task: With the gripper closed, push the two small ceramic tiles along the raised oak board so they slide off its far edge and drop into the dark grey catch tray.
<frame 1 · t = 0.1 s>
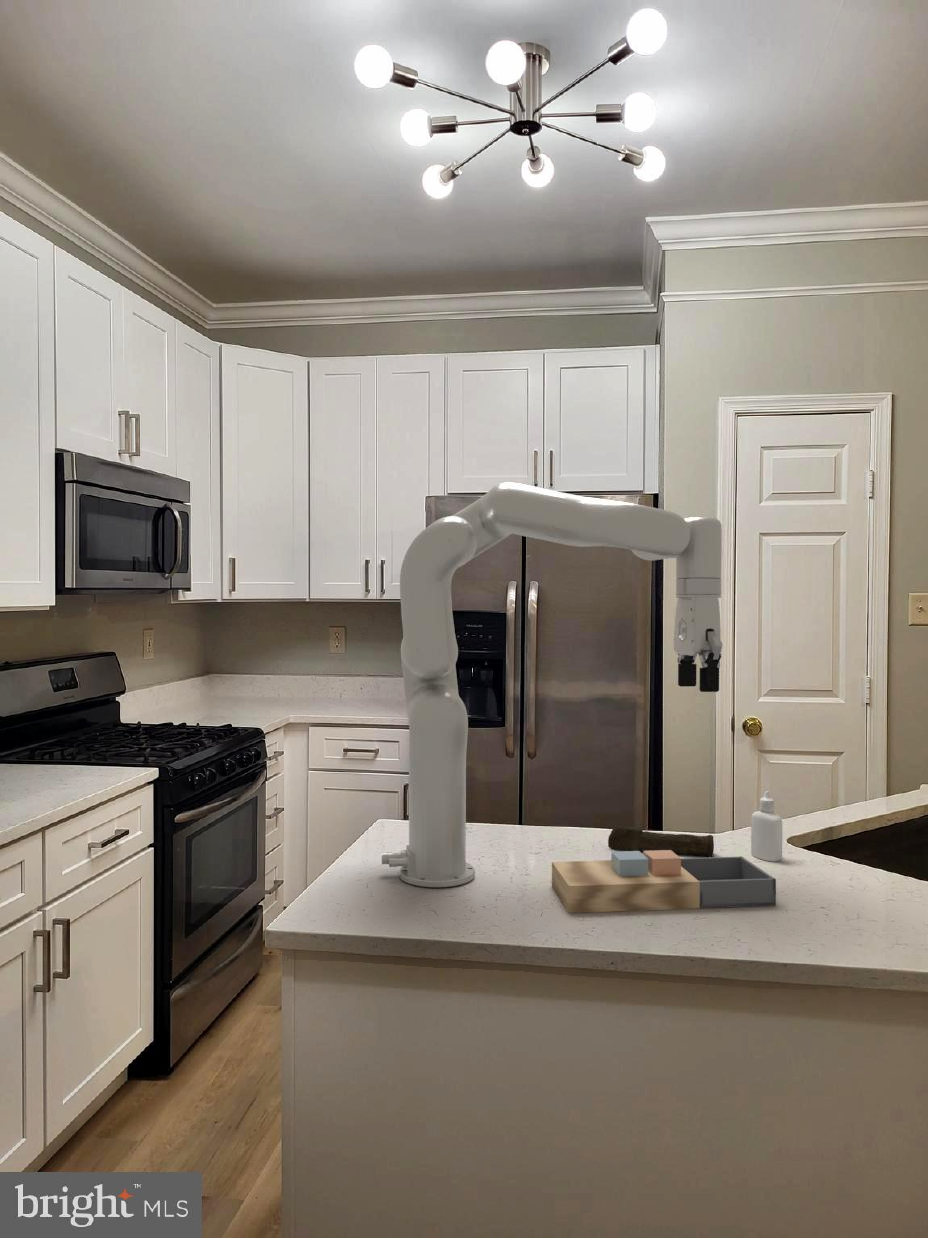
hand: (697, 688, 149), 31 cm above the countertop, tool pointing down, fingers open, 9 cm apart
terracotta tile: (661, 870, 135), point 4 cm above the countertop, touching oak board
catch tray: (721, 893, 136), on the countertop
slate tile: (629, 871, 135), point 4 cm above the countertop, touching oak board
eye dropper bottle: (766, 859, 156), on the countertop
hand tool: (660, 855, 159), on the countertop
oak board: (623, 897, 135), on the countertop
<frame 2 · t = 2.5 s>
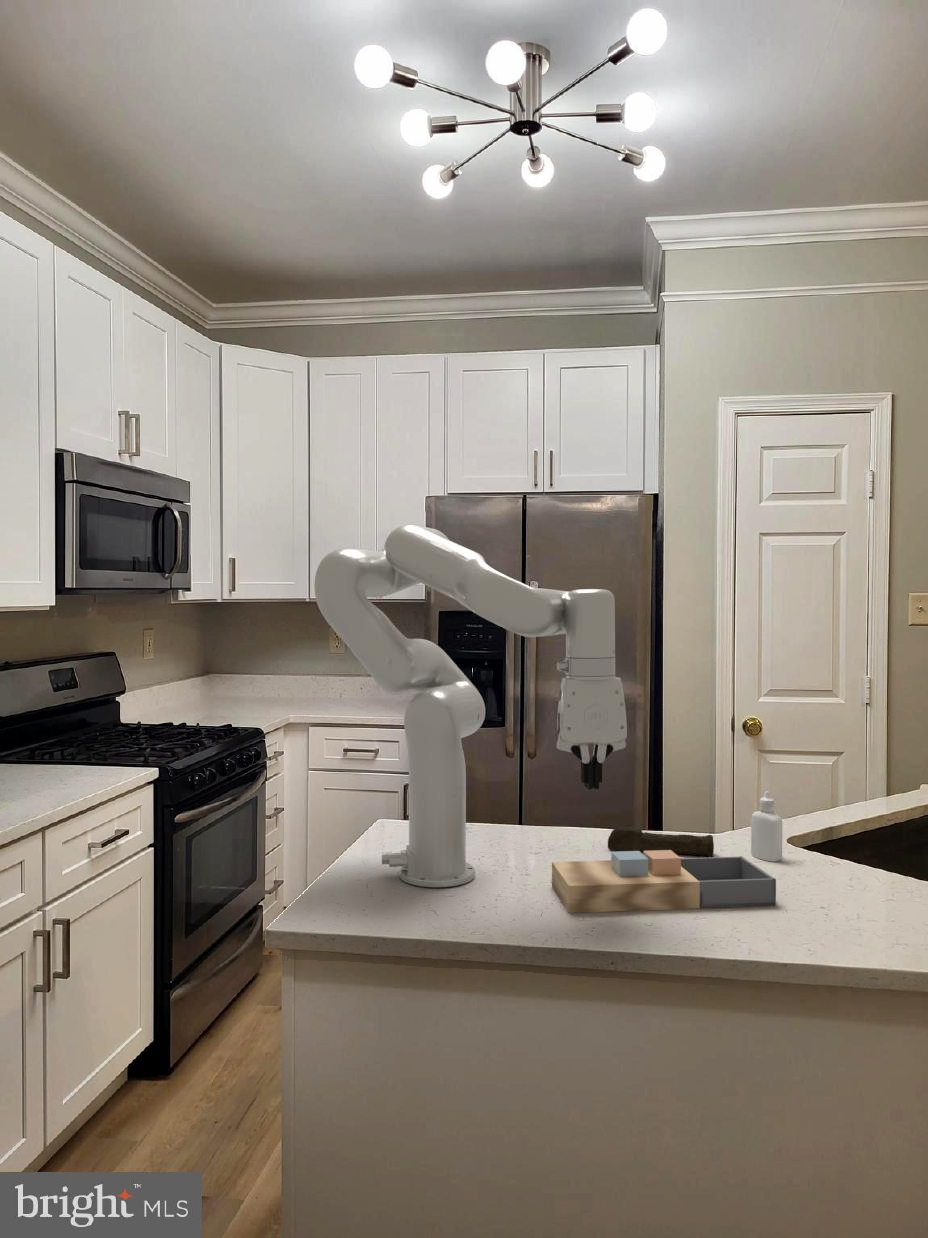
hand: (591, 787, 134), 17 cm above the countertop, tool pointing down, fingers closed
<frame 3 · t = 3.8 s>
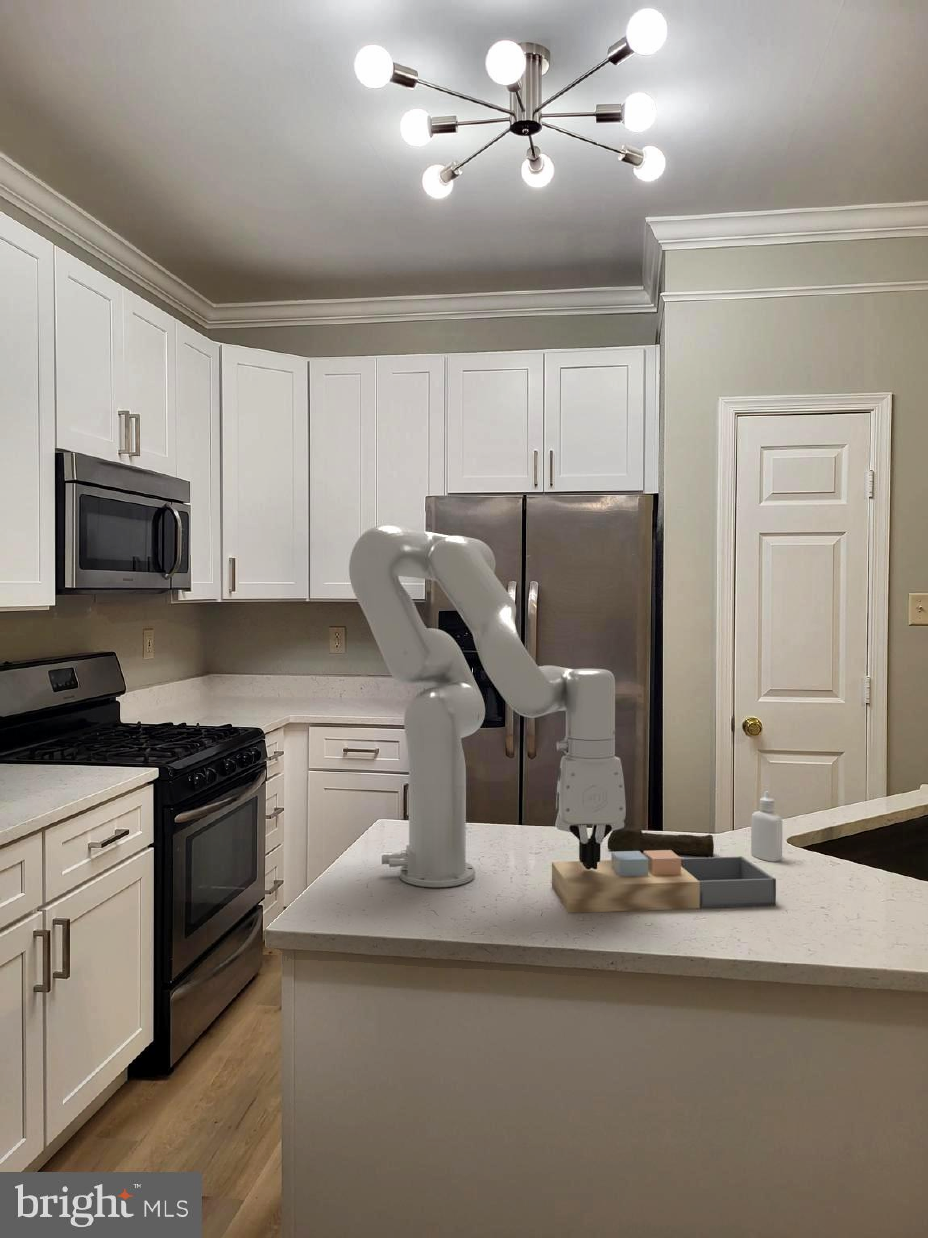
hand: (589, 866, 134), 5 cm above the countertop, tool pointing down, fingers closed
nothing on the countertop moved.
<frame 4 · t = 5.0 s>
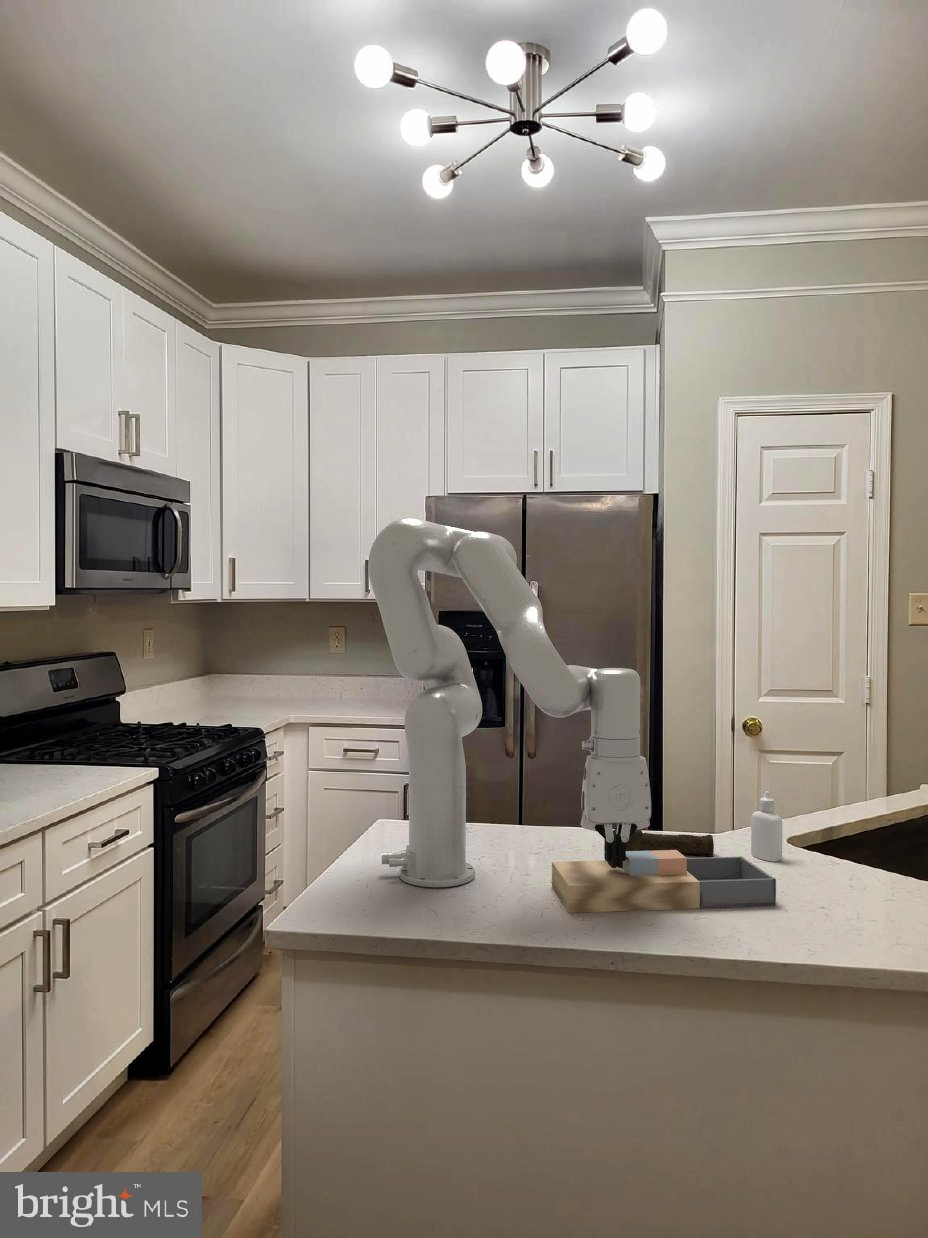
hand: (614, 865, 134), 5 cm above the countertop, tool pointing down, fingers closed
terracotta tile: (667, 870, 135), point 4 cm above the countertop, touching oak board, slate tile
slate tile: (639, 871, 135), point 4 cm above the countertop, touching gripper, oak board, terracotta tile
everything else where it was.
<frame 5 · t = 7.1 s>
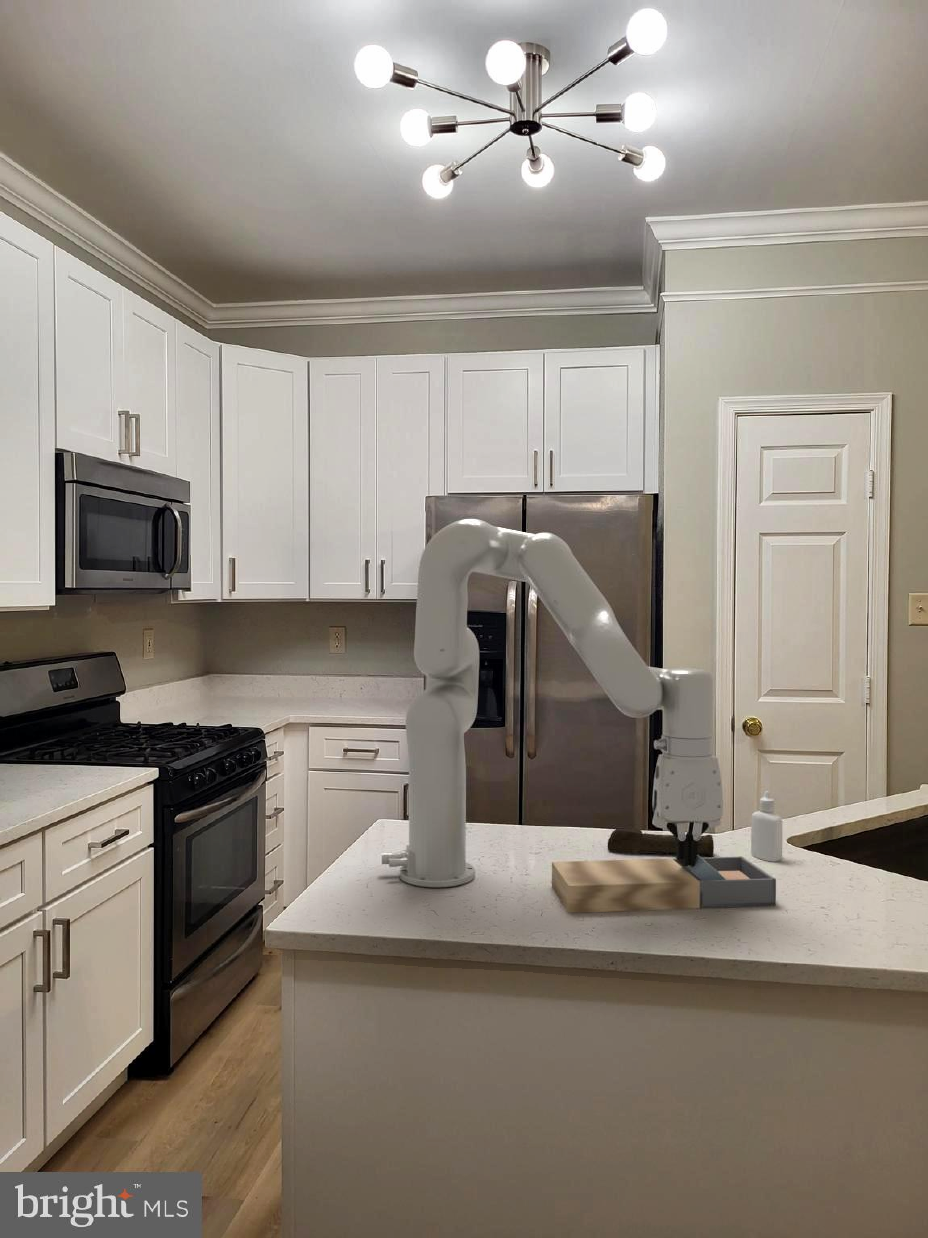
hand: (686, 863, 136), 5 cm above the countertop, tool pointing down, fingers closed
terracotta tile: (731, 875, 136), point 3 cm above the countertop, tilted 180°, touching catch tray, slate tile
slate tile: (699, 877, 135), point 3 cm above the countertop, tilted 39°, touching gripper, terracotta tile
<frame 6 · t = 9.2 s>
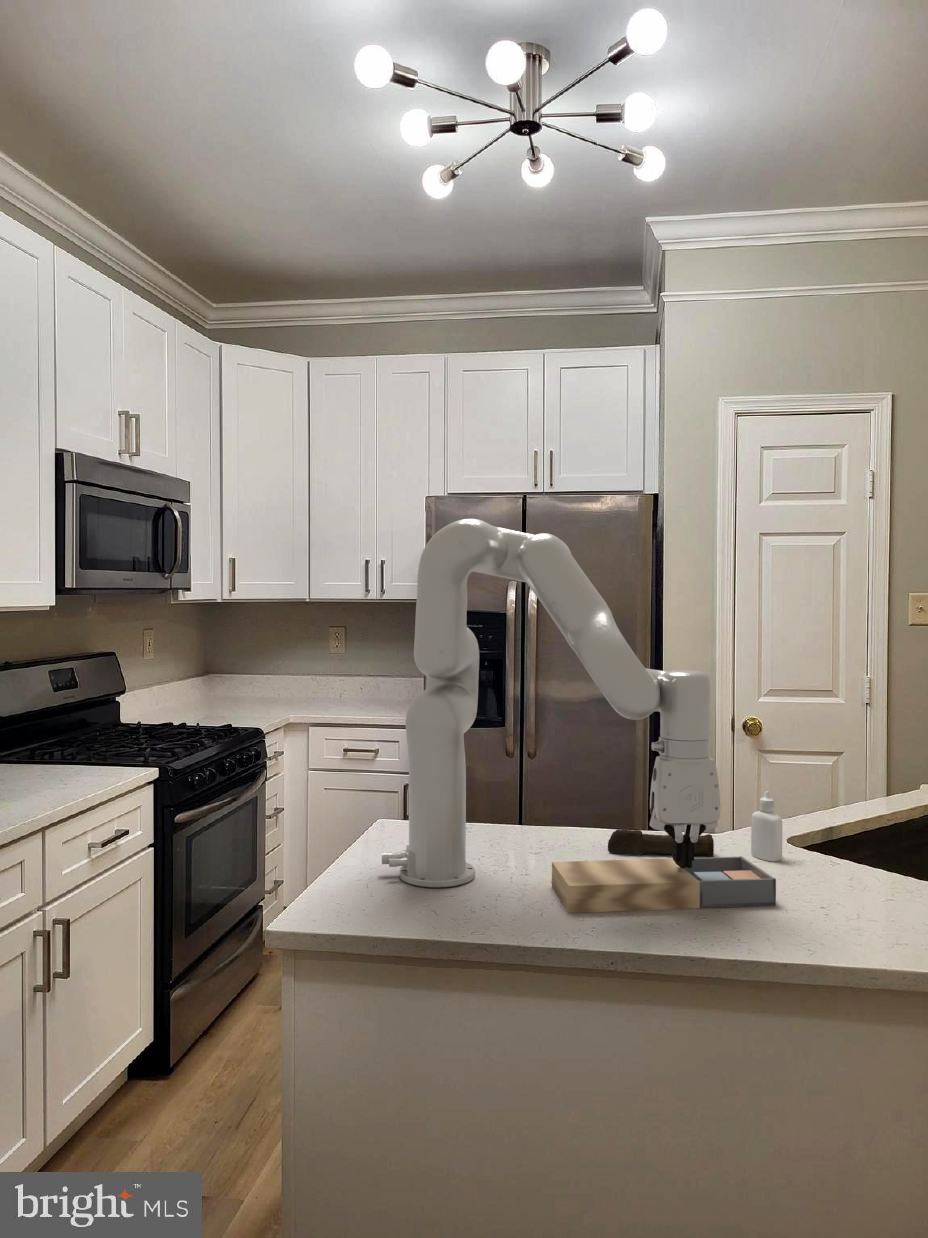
hand: (683, 865, 136), 5 cm above the countertop, tool pointing down, fingers closed
terracotta tile: (742, 875, 136), point 3 cm above the countertop, tilted 180°, touching catch tray
slate tile: (712, 892, 136), resting on catch tray
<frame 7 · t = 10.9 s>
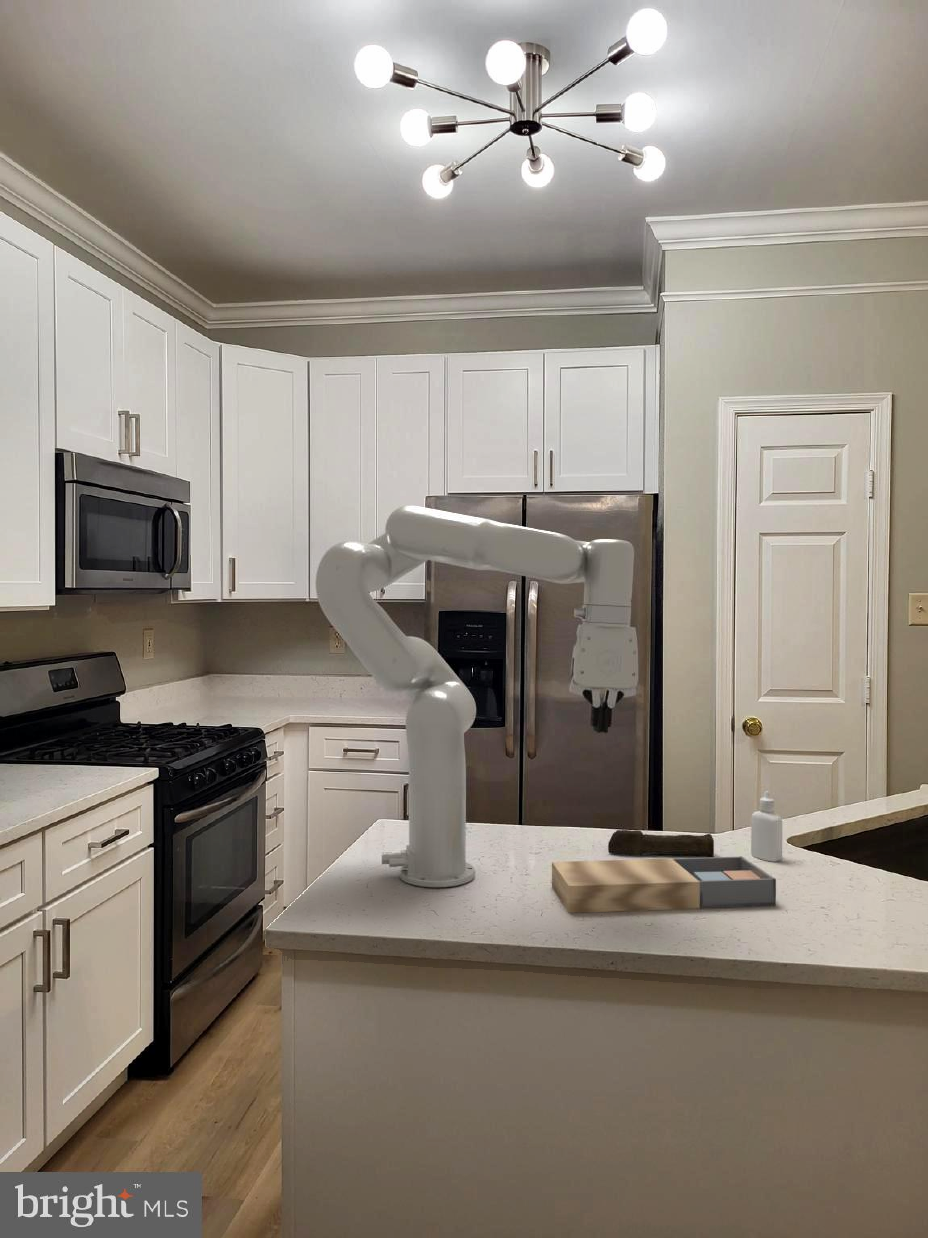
hand: (600, 731, 138), 25 cm above the countertop, tool pointing down, fingers closed
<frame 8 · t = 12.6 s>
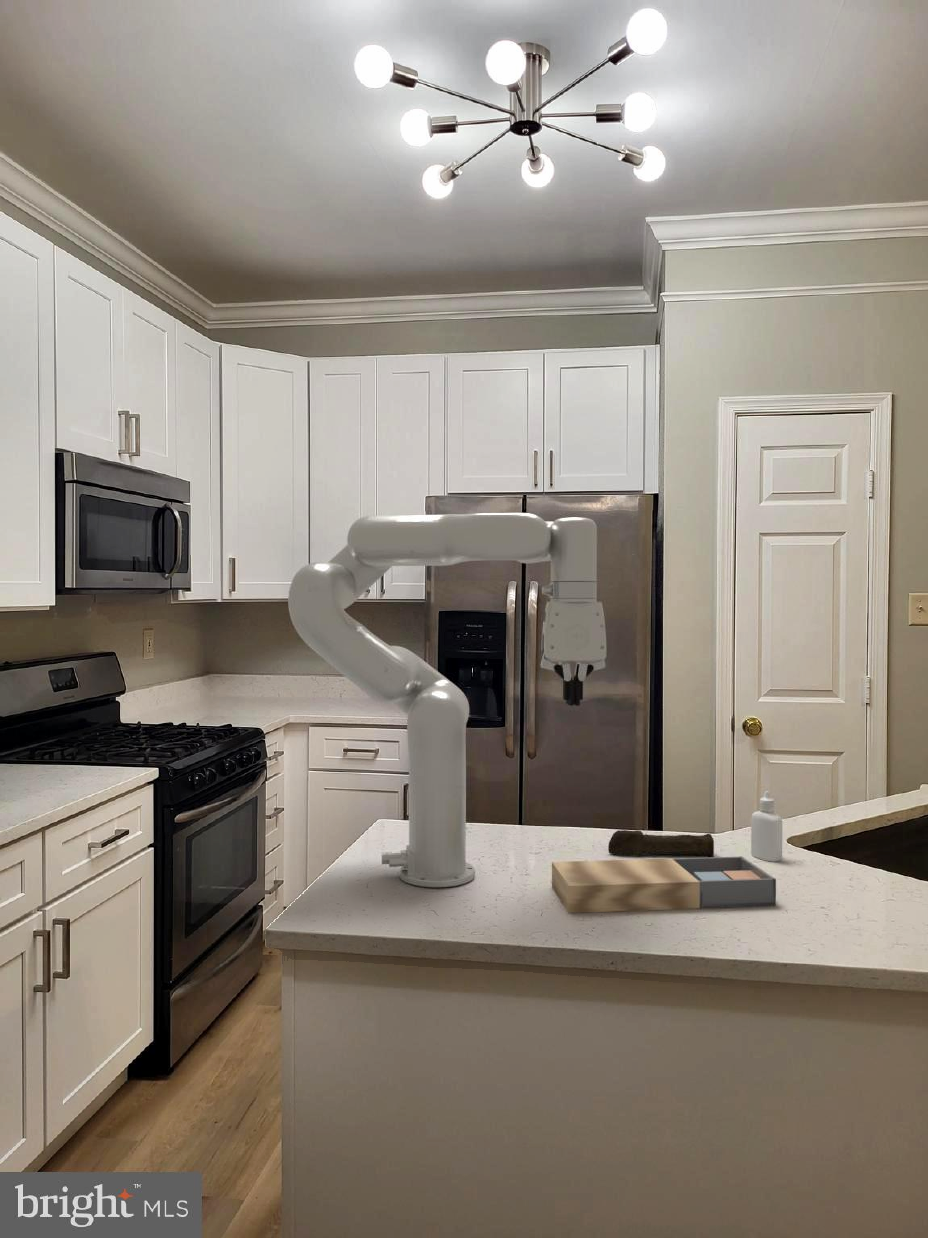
hand: (572, 704, 142), 29 cm above the countertop, tool pointing down, fingers closed
at the end: slate tile inside the target area on the catch tray (2.1 cm from its centre), point 0.5 cm above the catch tray's base; terracotta tile inside the target area on the catch tray (3.0 cm from its centre), point 3.0 cm above the catch tray's base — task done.
